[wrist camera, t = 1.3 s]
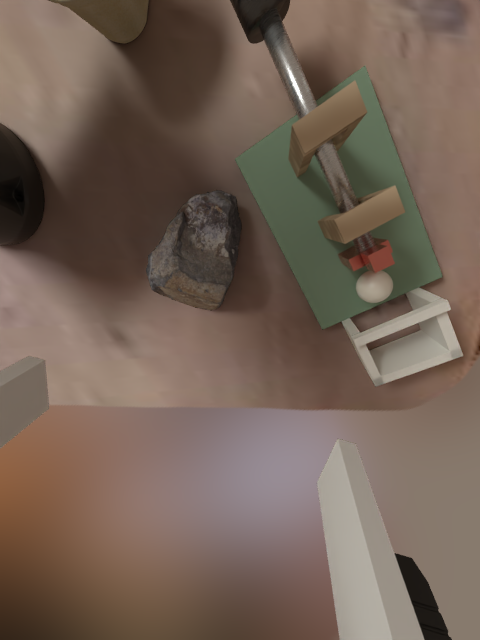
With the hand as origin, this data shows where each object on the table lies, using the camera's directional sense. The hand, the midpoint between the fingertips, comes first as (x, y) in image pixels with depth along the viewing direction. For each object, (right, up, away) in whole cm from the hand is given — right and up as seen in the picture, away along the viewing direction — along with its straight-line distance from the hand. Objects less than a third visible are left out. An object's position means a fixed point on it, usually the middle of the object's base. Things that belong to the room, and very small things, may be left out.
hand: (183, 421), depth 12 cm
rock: (-3, +13, +22) cm, 26 cm away
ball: (+17, +8, +17) cm, 25 cm away
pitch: (+14, +16, +18) cm, 28 cm away
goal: (+21, +4, +21) cm, 30 cm away
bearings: (+12, +18, +16) cm, 27 cm away
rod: (+10, +22, +15) cm, 28 cm away
